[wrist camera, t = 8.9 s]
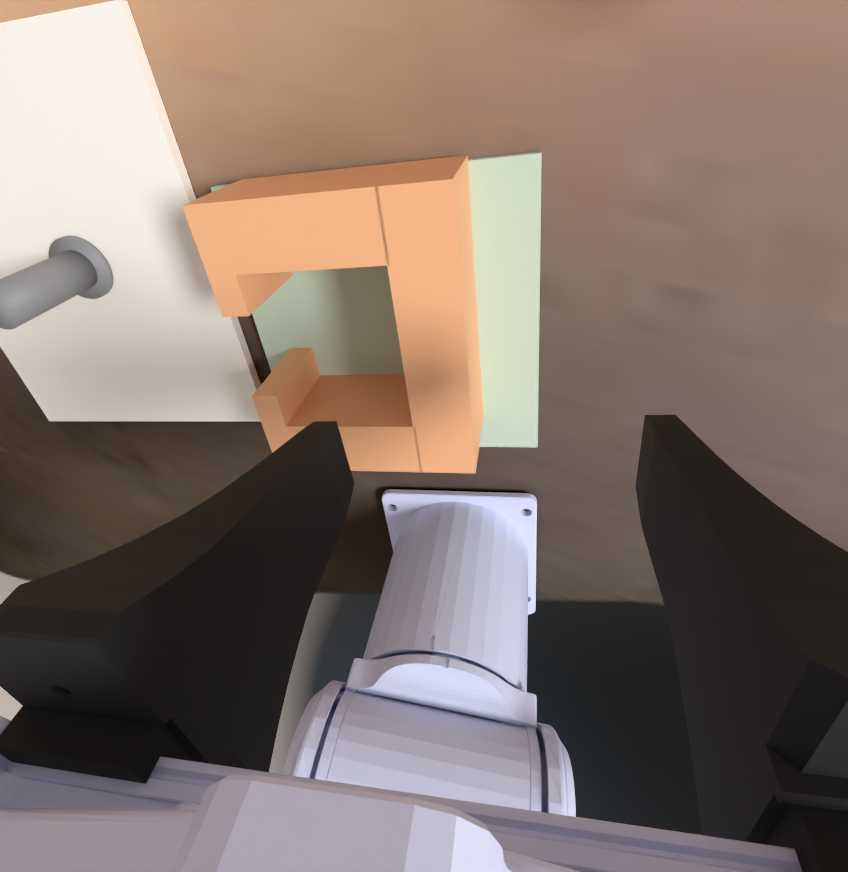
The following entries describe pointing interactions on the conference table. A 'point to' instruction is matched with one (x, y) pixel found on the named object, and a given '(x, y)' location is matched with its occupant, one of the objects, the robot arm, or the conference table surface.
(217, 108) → the conference table surface
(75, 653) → the robot arm
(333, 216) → the c link
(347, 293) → the mat
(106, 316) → the stand
